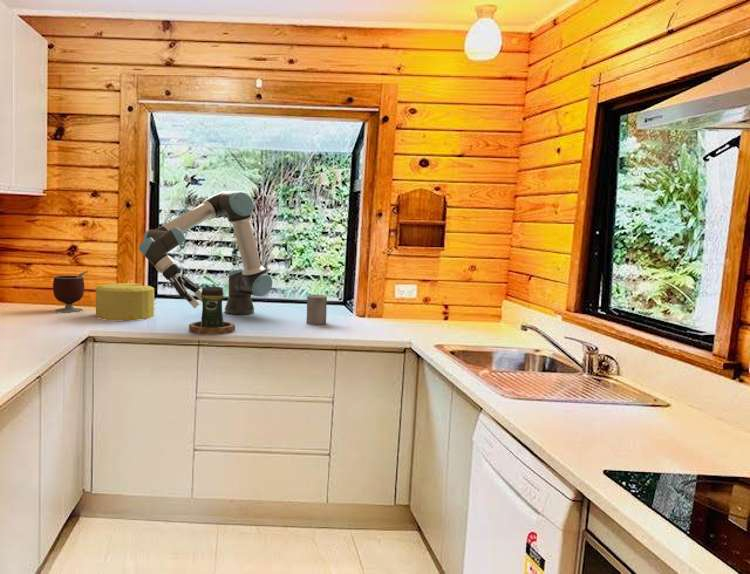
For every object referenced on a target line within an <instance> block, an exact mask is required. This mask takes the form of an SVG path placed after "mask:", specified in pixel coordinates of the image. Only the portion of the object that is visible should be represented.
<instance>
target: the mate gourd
mask: <svg viewBox="0 0 750 574" xmlns="http://www.w3.org/2000/svg"><path fill="white" fill-rule="evenodd" d="M86 273H88V270H86V271H82V272H81V273H79V274H78V275H56V276H55V275H54V276H53V281H52V292H53V297H54V298H55V299H56V300H57V301H58V302H61V303H64V305H65V306H64V307H61V308H55V309H54V310H55V311H56V312H55V311H54V312H55V313H58V312H61V313H60V314H62V313H63V314H72V313H71V312H76V313H81V312H83V311H84V310H83V308H79V307H74V306H73V304H75V303H77V302H79V301H81V300H82V298H83V296H84V293H85V281H84V276H83V275H85V274H86ZM80 311H81V312H80Z"/></svg>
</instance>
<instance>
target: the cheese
mask: <svg viewBox="0 0 750 574" xmlns="http://www.w3.org/2000/svg"><path fill="white" fill-rule="evenodd" d="M153 316H154V317H155V288H154V287H153V286H151V285H143V284H141V283H134V282H133V283H130V282H129V283H127V282H124V283H118V282H117V283H106V284H101V285H98V286H97V287H96V288H95V318H96V319H98V318H100V319H99V320H101V319H106V320H105V321H109V320H135V321H138V320H137V319H144V320H147V319H146V318H149V319H151V318H150V317H153ZM154 317H153V318H154Z"/></svg>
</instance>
